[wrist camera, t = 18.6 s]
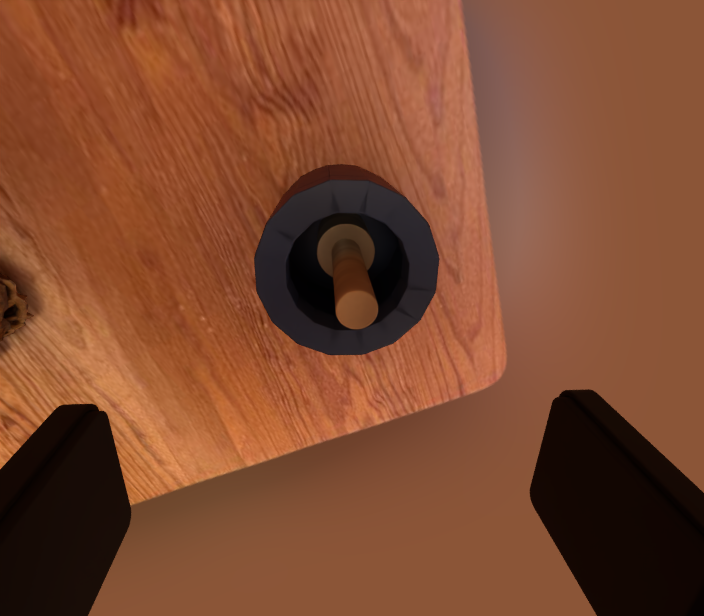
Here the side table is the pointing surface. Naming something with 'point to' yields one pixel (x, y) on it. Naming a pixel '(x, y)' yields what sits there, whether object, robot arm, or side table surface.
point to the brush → (348, 267)
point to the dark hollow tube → (318, 287)
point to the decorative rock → (11, 308)
